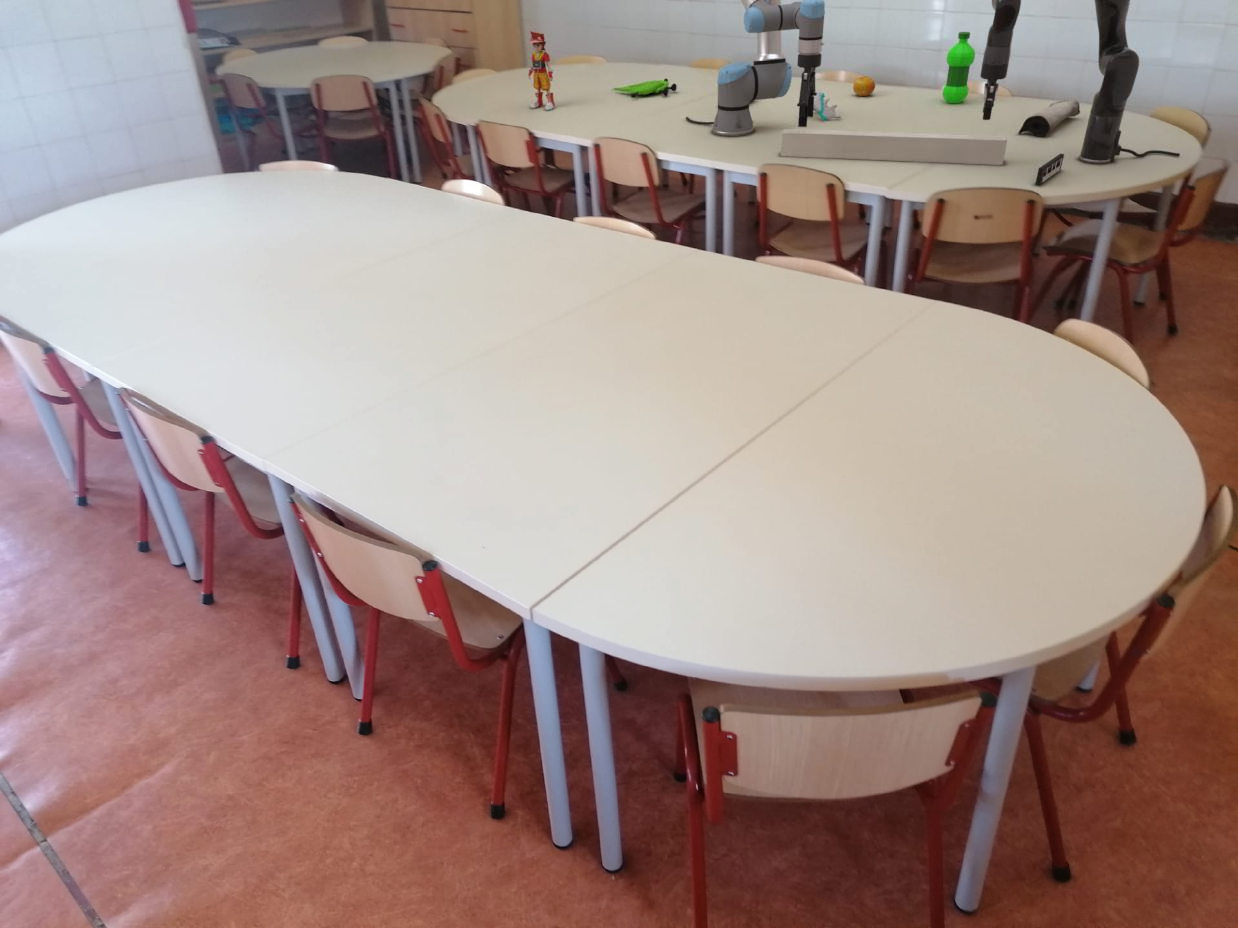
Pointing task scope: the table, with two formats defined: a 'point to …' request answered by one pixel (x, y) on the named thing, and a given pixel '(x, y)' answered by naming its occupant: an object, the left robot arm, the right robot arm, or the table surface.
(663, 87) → the toy
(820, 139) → the bar
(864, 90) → the fruit
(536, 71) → the toy
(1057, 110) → the rolled mat
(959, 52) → the plastic bottle
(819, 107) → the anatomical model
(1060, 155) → the midi keyboard
